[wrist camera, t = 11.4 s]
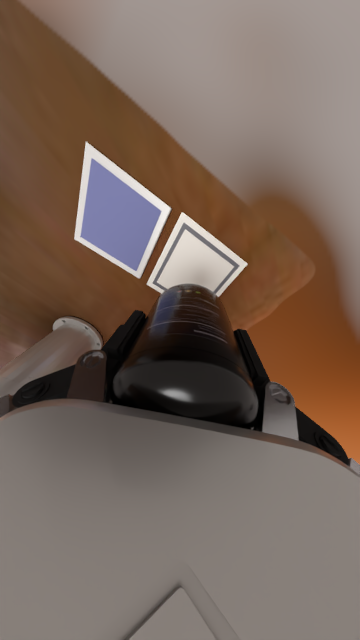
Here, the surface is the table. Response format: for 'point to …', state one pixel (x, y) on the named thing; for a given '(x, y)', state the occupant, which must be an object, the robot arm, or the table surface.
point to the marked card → (195, 260)
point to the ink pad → (117, 214)
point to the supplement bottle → (187, 362)
